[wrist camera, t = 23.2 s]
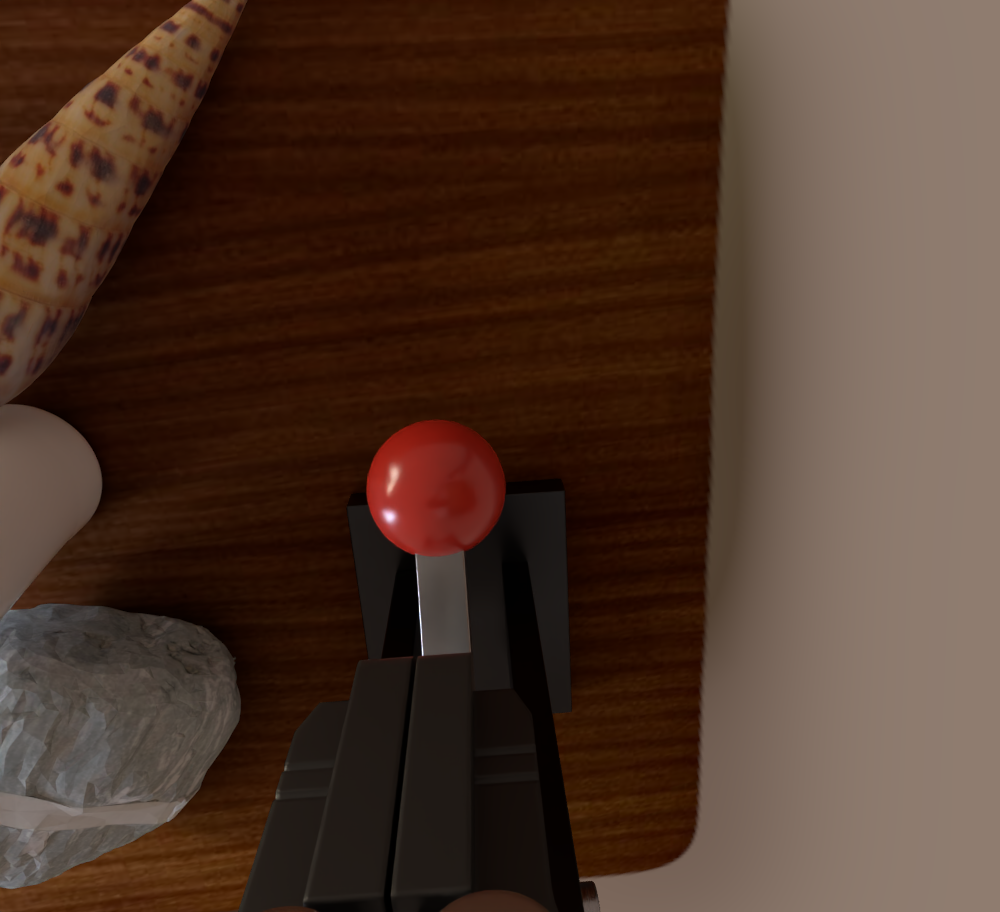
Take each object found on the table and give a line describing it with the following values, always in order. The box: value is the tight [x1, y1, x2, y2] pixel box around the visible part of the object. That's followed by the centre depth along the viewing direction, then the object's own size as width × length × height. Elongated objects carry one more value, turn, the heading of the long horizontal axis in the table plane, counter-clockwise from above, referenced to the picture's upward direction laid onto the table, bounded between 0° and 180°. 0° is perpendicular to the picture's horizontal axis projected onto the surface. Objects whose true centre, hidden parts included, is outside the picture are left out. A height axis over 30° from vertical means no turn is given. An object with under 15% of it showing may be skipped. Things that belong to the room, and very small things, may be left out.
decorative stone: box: [0, 604, 241, 889], centre depth 28 cm, size 13×10×6 cm
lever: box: [366, 420, 506, 667], centre depth 17 cm, size 13×3×3 cm, turn 3°
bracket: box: [346, 479, 600, 912], centre depth 23 cm, size 10×8×16 cm
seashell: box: [0, 0, 247, 407], centre depth 22 cm, size 4×18×5 cm, turn 136°
